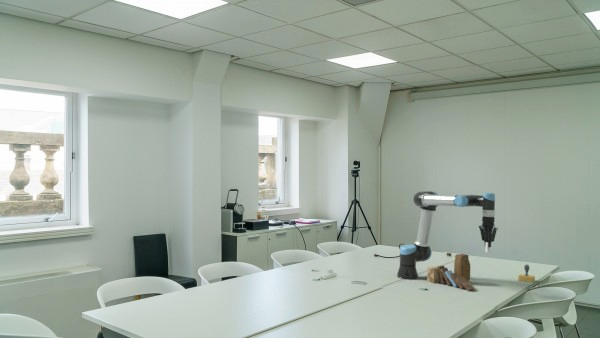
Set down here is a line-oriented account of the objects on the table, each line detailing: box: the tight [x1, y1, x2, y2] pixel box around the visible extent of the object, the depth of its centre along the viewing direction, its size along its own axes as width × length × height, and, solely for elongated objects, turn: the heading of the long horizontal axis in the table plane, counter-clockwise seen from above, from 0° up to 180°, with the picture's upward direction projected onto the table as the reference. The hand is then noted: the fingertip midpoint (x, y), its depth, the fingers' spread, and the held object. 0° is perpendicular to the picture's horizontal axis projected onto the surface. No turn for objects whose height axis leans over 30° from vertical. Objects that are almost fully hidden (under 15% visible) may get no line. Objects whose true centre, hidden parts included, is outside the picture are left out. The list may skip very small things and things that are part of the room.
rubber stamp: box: [517, 264, 536, 283], centre depth 340 cm, size 10×6×12 cm, turn 52°
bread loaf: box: [453, 253, 471, 282], centre depth 330 cm, size 11×8×20 cm
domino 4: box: [450, 272, 466, 290], centre depth 315 cm, size 2×5×12 cm
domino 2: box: [441, 267, 453, 286], centre depth 322 cm, size 2×5×12 cm
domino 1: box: [437, 265, 447, 284], centre depth 326 cm, size 2×5×12 cm, turn 123°
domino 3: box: [445, 270, 460, 288], centre depth 319 cm, size 2×5×12 cm
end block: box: [426, 265, 441, 284], centre depth 331 cm, size 6×12×10 cm, turn 122°
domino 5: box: [456, 276, 476, 292], centre depth 310 cm, size 2×5×12 cm
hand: (487, 251), depth 304 cm, fingers closed
